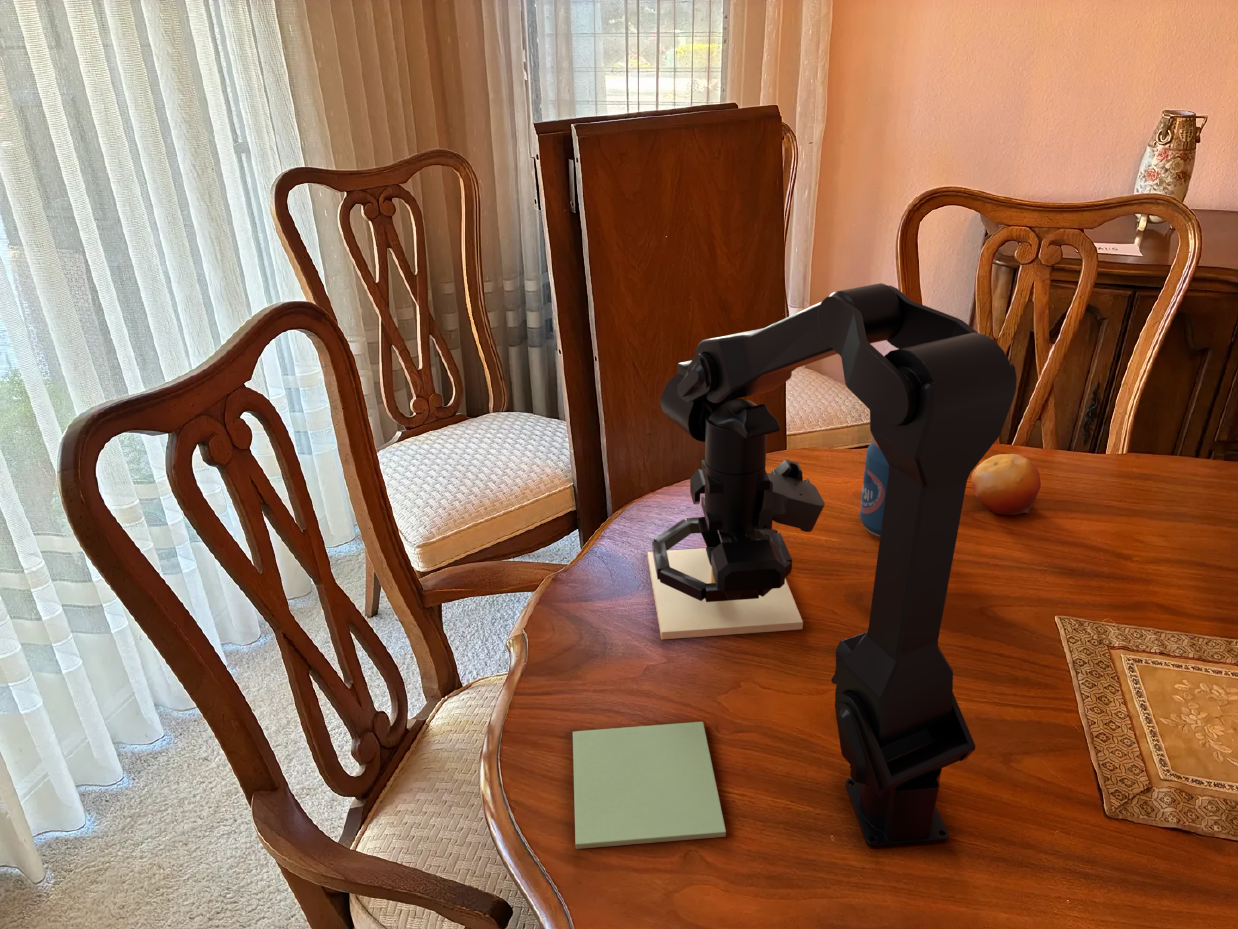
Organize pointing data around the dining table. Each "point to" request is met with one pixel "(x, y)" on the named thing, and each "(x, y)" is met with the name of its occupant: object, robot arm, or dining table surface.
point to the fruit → (1006, 484)
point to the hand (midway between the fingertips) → (731, 593)
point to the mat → (644, 786)
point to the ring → (692, 584)
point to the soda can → (874, 489)
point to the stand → (717, 604)
